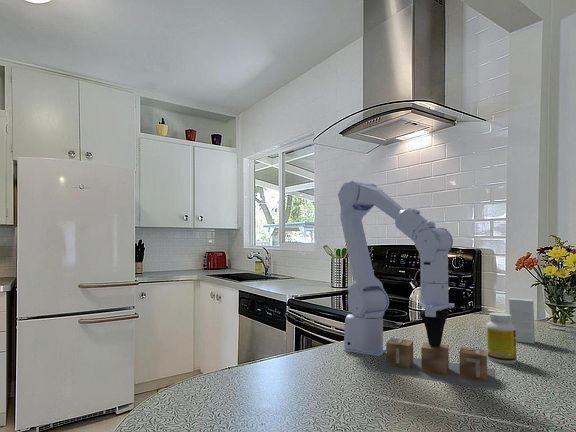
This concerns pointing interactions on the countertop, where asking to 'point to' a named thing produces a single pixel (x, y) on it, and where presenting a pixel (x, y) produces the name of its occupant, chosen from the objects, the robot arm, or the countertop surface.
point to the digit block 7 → (473, 363)
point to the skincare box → (523, 319)
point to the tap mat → (451, 376)
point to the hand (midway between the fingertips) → (434, 345)
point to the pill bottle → (501, 338)
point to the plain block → (435, 358)
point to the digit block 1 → (399, 353)
